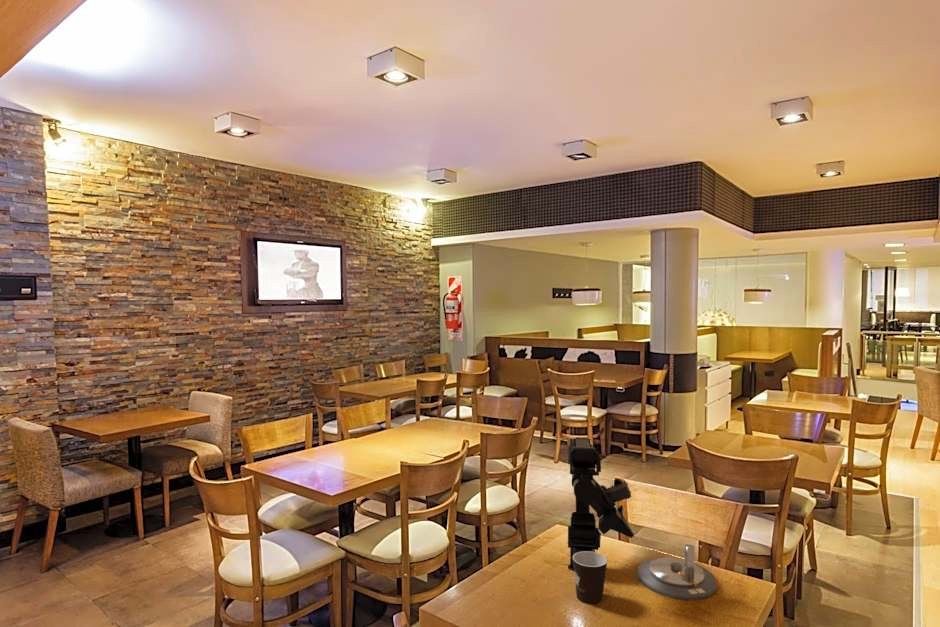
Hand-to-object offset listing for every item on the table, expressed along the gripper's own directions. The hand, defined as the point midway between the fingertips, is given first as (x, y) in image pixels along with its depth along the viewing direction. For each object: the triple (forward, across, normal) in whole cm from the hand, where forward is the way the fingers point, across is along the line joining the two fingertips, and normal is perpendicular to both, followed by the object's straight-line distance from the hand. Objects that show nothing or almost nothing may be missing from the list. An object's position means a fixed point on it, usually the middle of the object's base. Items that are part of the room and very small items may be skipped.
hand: (632, 536), depth 150 cm
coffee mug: (+2, -9, +17) cm, 19 cm away
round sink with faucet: (+16, +4, -1) cm, 17 cm away
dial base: (+17, +5, +1) cm, 18 cm away
